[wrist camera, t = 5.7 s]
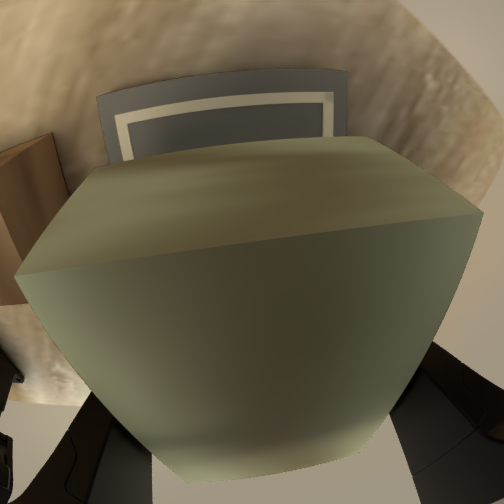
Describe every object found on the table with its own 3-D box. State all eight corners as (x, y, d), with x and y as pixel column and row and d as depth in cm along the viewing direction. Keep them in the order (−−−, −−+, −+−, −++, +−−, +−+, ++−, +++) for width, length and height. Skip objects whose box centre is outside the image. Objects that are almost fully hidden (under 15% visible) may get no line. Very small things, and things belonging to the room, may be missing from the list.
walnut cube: (9, 245, 13) (-33, 308, 9) (-22, 162, 10) (-83, 209, 6) (80, 231, 13) (43, 302, 9) (51, 133, 10) (-13, 175, 6)
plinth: (169, 326, 17) (168, 347, 16) (107, 92, 10) (95, 97, 9) (319, 304, 18) (328, 323, 17) (332, 69, 11) (348, 71, 9)
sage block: (182, 397, 12) (187, 483, 9) (94, 167, 6) (14, 275, 3) (330, 373, 13) (359, 452, 9) (367, 136, 7) (483, 212, 4)
